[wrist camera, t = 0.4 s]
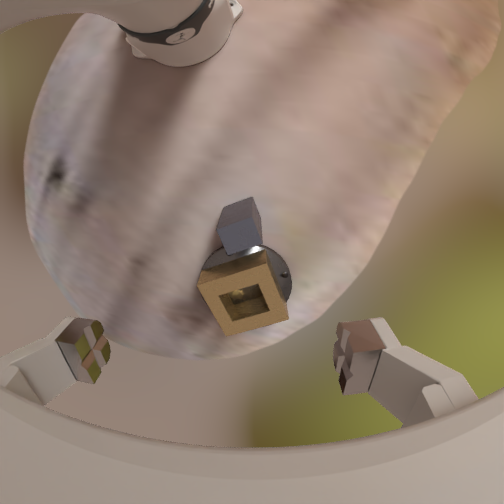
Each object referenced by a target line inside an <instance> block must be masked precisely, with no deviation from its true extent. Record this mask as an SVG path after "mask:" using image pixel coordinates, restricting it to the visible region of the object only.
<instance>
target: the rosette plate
mask: <svg viewBox="0 0 504 504" xmlns="http://www.w3.org/2000/svg"><path fill="white" fill-rule="evenodd" d="M197 287H198V288H199V290H200V292H201V295H202V297H203V299H204V301H205V302H206V304H207V305H208V306H209V308H210V310H211V311H212V313H213V315H214V316H215V318H216V320H217V322H218V323H219V325H220V327H221V328H222V330H223V332H224V333H225V335H226V336H229V335H233V334H237V333H241V332H245V331H249V330H253V329H256V328H260V327H264V326H267V325H271V324H274V323H278V322H281V321H285V320H288V319H289V316H288V310H287V304H286V302H287V300H288V298H289V296H290V293H291V289H292V281H291V275H290V271H289V268H288V266H287V264H286V263H285V261H284V260H283V258H282V257H281V256H280V255H279V254H278V253H276V252H275V251H274V250H272V249H270V248H268V247H266V246H264V245H261V244H260V245H257V246H254V247H251V248H248V249H245V250H242V251H239V252H236V253H233V254H230V255H228V254H227V252H226V250H225V248H224V247H221V248H220V249H218V250H216V251H215V252H214V253H213V254H212V255H211V256H210V257H209V258H208V259H207V260H206V262H205V264H204V266H203V268H202V271H201V274H200V278H199V281H198V284H197Z"/></svg>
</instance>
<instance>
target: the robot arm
mask: <svg viewBox="0 0 504 504" xmlns="http://www.w3.org/2000/svg"><path fill="white" fill-rule="evenodd" d="M230 4H233V6H232V7H231V5H230ZM242 12H243V9H242V6H241V5H240V4H239V3H238V1H237V0H0V34H1V33H3V32H4V31H6V30H8V29H10V28H12V27H15V26H17V25H19V24H22V23H25V22H27V21H30V20H34V19H37V18H42V17H46V16H51V15H58V14H67V13H93V14H98V15H101V16H103V17H106V18H108V19H110V20H112V21H114V22H116V23H117V24H118V25H119V27H120V28H121V29H122V30H123V31H124V32H125V33H126V36H127V37H126V41H127V42H128V43H129V44H130V45H131V47H132V53H133V55H134V56H135V57H137V58H150V59H153V60H155V61H157V62H159V63H162V64H164V65H168V66H174V67H183V66H190V65H194V64H197V63H200V62H202V61H204V60H206V59H208V58H210V57H211V56H213V55H214V54H215V53H216V52H218V51H219V50H220V49H221V48H222V46H223V45H224V44H225V42H226V41H227V39H228V37H229V35H230V31H231V28H232V25H233V23H234V22H235V21H236V20H237V19H238V18H239V17H240V16H241V14H242ZM103 332H104V329H103V326H102V324H101V322H99V321H98V320H91V319H84V318H76V317H65V318H64V319H63V320H62V321H61V322H60V323H59V324H58V325H57V326H56V327H55V328H54V329H53V330H52V331H51V333H50V334H49V335H48V336H47V337H46V338H45V339H43V338H42V339H40V340H37V341H35V342H33V343H31V344H29V345H26V346H24V347H22V348H20V349H18V350H15V351H14V352H11V353H9V354H7V355H4V356H2V357H0V504H504V387H503V388H501V389H499V390H497V391H495V392H493V393H491V394H489V395H487V396H485V397H483V398H481V399H478V397H477V396H476V394H475V393H474V392H473V390H472V388H471V387H470V385H469V384H468V382H467V381H466V379H465V378H464V376H463V375H462V374H461V373H459V372H457V371H455V370H453V369H451V368H449V367H447V366H445V365H443V364H441V363H439V362H437V361H435V360H433V359H431V358H429V357H427V356H425V355H423V354H421V353H419V352H417V351H415V350H413V349H411V348H409V347H407V346H401V344H400V343H399V341H398V339H397V338H396V336H395V335H394V333H393V332H392V330H391V329H390V327H389V326H388V324H387V323H386V321H385V319H383V318H382V317H379V318H372V319H367V320H359V321H349V322H339V323H338V325H337V330H336V334H337V337H338V341H336V342H335V344H334V350H333V361H334V366H335V370H336V371H337V372H338V373H340V376H339V384H340V387H341V390H342V394H343V395H349V394H358V393H365V392H368V394H369V395H371V396H372V397H373V398H374V399H375V400H376V401H378V402H379V403H380V404H381V405H382V406H383V407H385V408H386V409H387V410H388V411H389V412H390V413H392V414H393V415H394V416H395V417H396V418H398V419H399V420H400V421H401V422H402V423H403V425H402V427H401V428H400V429H396V430H392V431H388V432H384V433H380V434H376V435H371V436H366V437H361V438H356V439H350V440H344V441H338V442H331V443H323V444H314V445H305V446H292V447H272V448H236V447H215V446H202V445H192V444H184V443H176V442H169V441H163V440H157V439H152V438H146V437H141V436H137V435H132V434H128V433H124V432H119V431H116V430H112V429H108V428H104V427H101V426H97V425H94V424H90V423H87V422H85V421H81V420H79V419H76V418H73V417H70V416H67V415H64V414H62V413H59V412H57V411H54V410H51V409H49V408H47V407H44V405H46V404H47V403H48V402H50V401H51V400H52V399H54V398H55V397H57V396H58V395H59V394H60V393H62V392H63V391H65V390H66V389H67V388H69V387H70V386H71V385H73V384H74V383H76V382H77V381H81V382H86V383H91V384H95V382H96V380H97V379H98V377H99V376H100V374H101V367H103V366H104V365H106V364H107V362H108V361H109V359H110V352H111V351H110V345H109V342H108V340H107V339H106V338H105V337H104V336H103ZM76 380H77V381H76Z"/></svg>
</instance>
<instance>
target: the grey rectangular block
mask: <svg viewBox="0 0 504 504" xmlns="http://www.w3.org/2000/svg"><path fill="white" fill-rule="evenodd" d="M216 230H217V232H218V235H219V237H220V239H221V241H222V243H223V246H224V248H225V250H226V252H227V254H228V255H230V254H233V253H236V252H239V251H242V250H245V249H248V248H251V247H254V246H257V245H260V244H263V240H262V226H261V217H260V215H259V212H258V210H257V207H256V204H255V202H254V199H253V197H250V198H247V199H245V200H242V201H239V202H236V203H234V204H231V205H228V206H226V207H224V208H223V211H222V214H221V217H220V220H219V223H218V226H217V229H216Z"/></svg>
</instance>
